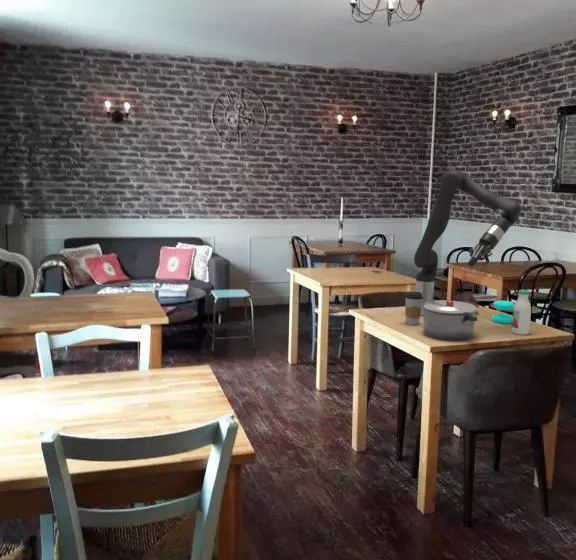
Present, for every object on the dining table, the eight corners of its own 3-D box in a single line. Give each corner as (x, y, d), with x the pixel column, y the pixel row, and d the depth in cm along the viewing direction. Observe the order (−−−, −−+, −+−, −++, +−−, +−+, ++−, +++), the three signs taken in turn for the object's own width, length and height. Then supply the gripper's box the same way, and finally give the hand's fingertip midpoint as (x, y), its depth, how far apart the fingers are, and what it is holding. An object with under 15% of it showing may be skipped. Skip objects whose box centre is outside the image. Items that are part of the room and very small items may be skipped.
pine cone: (445, 309, 347) (446, 290, 345) (457, 307, 352) (459, 289, 350) (471, 315, 332) (472, 296, 330) (484, 313, 338) (485, 294, 336)
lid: (488, 311, 286) (489, 303, 285) (448, 316, 275) (448, 308, 274) (451, 301, 306) (452, 294, 305) (412, 305, 294) (413, 298, 294)
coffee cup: (420, 322, 315) (422, 291, 313) (422, 326, 307) (423, 295, 305) (402, 321, 316) (404, 291, 314) (404, 325, 308) (406, 294, 305)
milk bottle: (528, 332, 301) (532, 289, 297) (529, 335, 293) (533, 292, 290) (511, 330, 303) (514, 288, 300) (511, 334, 296) (514, 291, 293)
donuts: (504, 299, 325) (519, 303, 316) (503, 318, 327) (517, 323, 318) (489, 300, 321) (503, 304, 312) (487, 320, 323) (501, 324, 314)
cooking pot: (491, 340, 284) (493, 313, 282) (454, 345, 273) (455, 318, 271) (442, 324, 311) (444, 300, 309) (406, 329, 300) (408, 304, 298)
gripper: (477, 230, 300) (455, 257, 296) (498, 233, 288) (476, 261, 284) (484, 241, 303) (463, 268, 299) (506, 244, 291) (484, 272, 288)
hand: (469, 265), depth 292 cm, fingers closed
